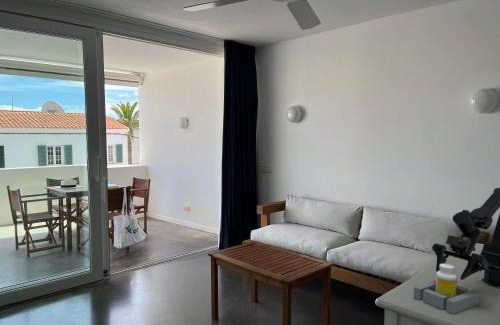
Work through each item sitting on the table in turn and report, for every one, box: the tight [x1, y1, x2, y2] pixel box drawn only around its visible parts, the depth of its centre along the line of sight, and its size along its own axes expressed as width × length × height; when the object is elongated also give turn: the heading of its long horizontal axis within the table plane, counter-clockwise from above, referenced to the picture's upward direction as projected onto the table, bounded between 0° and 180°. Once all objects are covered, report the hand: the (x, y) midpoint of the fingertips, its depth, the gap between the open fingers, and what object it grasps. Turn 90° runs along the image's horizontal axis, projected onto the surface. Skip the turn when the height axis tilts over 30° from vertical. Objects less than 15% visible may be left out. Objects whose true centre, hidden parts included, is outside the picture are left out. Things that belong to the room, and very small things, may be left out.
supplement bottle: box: [435, 263, 458, 299], centre depth 139 cm, size 7×7×13 cm
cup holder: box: [413, 279, 480, 315], centre depth 139 cm, size 15×15×4 cm
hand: (448, 275), depth 139 cm, fingers open, 9 cm apart
